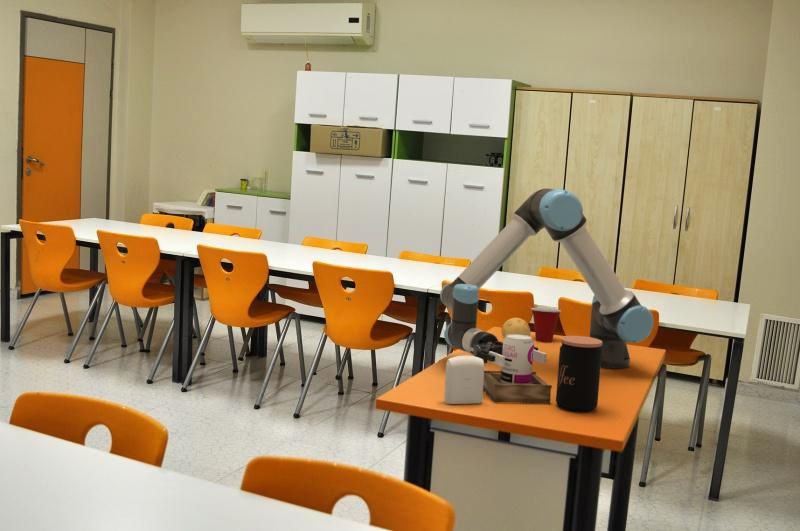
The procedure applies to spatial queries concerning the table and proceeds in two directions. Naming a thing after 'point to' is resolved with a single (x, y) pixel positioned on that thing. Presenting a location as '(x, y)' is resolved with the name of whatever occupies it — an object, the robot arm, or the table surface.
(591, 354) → the coffee jar
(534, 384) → the crate
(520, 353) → the supplement can
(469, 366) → the white rounded block
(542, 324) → the plastic cup
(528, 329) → the stress ball
